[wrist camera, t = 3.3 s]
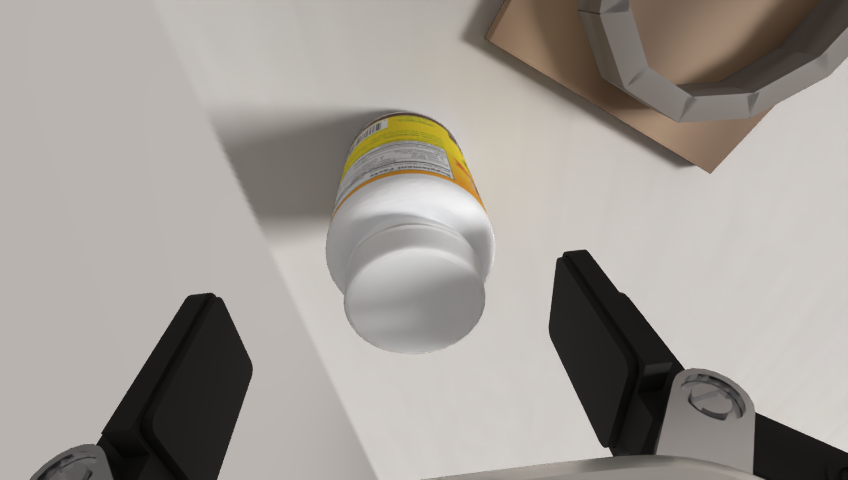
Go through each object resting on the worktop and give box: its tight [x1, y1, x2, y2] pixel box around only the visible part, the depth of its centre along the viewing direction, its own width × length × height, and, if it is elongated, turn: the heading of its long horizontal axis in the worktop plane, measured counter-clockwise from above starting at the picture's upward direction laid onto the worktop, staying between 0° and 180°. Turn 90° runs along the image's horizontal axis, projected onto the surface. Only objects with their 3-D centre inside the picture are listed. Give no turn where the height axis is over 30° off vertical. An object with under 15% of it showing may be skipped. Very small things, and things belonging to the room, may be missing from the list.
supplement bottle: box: [326, 112, 495, 354], centre depth 15 cm, size 6×6×10 cm
